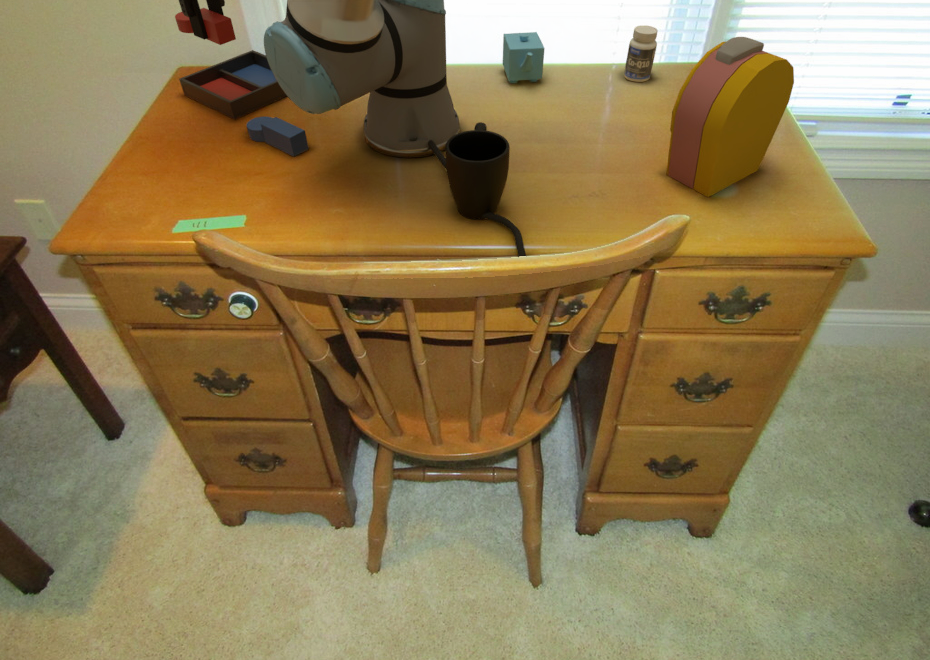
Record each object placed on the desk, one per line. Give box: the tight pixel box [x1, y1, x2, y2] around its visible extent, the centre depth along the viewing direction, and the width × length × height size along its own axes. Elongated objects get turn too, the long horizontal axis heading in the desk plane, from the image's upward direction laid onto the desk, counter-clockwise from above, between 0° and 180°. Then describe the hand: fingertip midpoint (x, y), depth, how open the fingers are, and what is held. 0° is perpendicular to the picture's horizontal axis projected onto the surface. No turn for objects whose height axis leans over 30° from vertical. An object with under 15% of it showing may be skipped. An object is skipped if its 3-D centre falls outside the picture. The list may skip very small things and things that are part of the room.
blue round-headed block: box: [246, 115, 310, 158], centre depth 99 cm, size 12×5×3 cm, turn 51°
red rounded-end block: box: [174, 7, 237, 46], centre depth 100 cm, size 12×5×3 cm, turn 51°
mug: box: [444, 121, 511, 221], centre depth 85 cm, size 8×12×10 cm
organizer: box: [178, 49, 288, 120], centre depth 112 cm, size 15×16×3 cm
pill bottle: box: [623, 24, 658, 83], centre depth 112 cm, size 5×5×8 cm
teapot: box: [502, 31, 545, 84], centre depth 113 cm, size 12×6×8 cm, turn 6°
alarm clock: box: [665, 36, 795, 198], centre depth 86 cm, size 15×8×18 cm, turn 127°
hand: (211, 32), depth 100 cm, fingers closed on red rounded-end block, 3 cm apart
